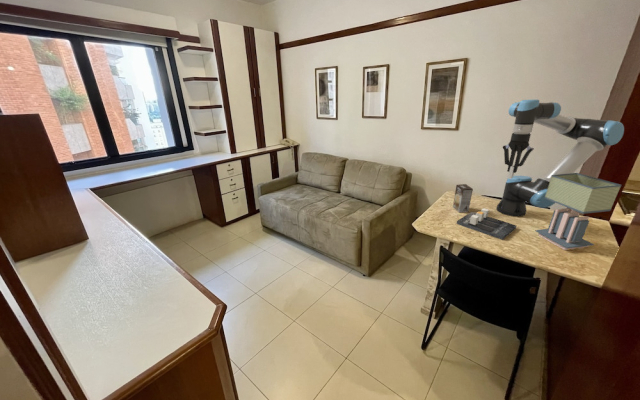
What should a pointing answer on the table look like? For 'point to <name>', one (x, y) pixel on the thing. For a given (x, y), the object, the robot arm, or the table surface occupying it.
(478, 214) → the block
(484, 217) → the block
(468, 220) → the panel
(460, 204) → the coffee box
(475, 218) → the block
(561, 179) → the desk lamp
